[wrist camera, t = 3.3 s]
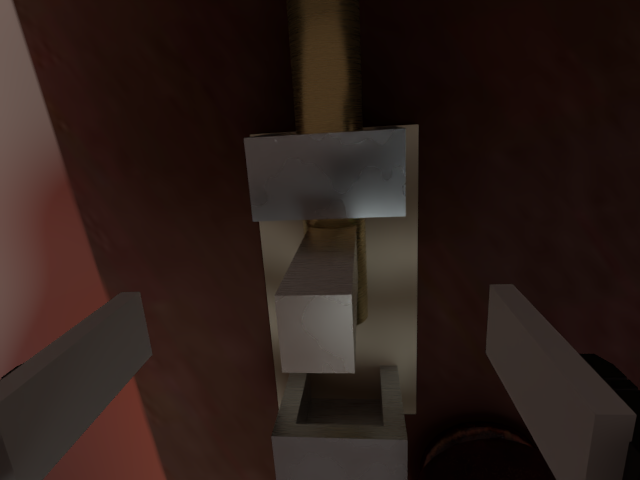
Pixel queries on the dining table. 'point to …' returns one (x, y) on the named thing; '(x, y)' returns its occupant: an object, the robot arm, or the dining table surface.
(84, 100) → the dining table surface
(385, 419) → the socket
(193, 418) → the dining table surface
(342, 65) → the slide bolt
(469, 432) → the vase
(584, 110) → the dining table surface
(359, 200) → the sleeve
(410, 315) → the plank
